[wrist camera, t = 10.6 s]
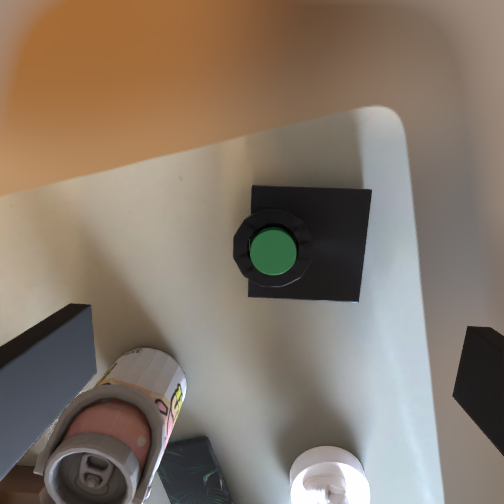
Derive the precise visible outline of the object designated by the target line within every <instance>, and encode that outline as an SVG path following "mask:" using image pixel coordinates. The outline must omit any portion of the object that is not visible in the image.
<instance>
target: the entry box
mask: <svg viewBox="0 0 504 504" xmlns="http://www.w3.org/2000/svg"><path fill="white" fill-rule="evenodd" d="M371 195H372V190H370V189H353V188H324V187H295V186H267V185H252V188H251V214H250V215H248V216H246V217H245V219H244V221H243V222H242V224H241V226H240V227H239V229H238V230H237V232H236V234H235V235H234V239H233V257H234V260H235V262H236V264H237V266H238V267H239V269H240V271H241V273H242V274H243V276H245V277H246V278H248V279H249V281H248V297H254V298H274V299H295V300H315V301H335V302H356V303H358V302H359V295H360V287H361V279H362V270H363V262H364V254H365V245H366V237H367V228H368V220H369V212H370V203H371ZM268 227H278V228H281V229H284V230H285V231H287V232H288V233H289V234H290V235H291V237H292V239H293V241H294V243H295V246H296V251H297V254H296V259H295V262H294V264H293V265H292V267H291V268H290V269H289V270H287V271H286V272H284V273H282V274H279V275H268V274H264V273H262V272H260V271H259V270H258V269H257V268H256V267H255V266H254V265H253V263H252V261H251V257H250V250H249V239H250V248H251V244H252V241H253V238H254V237H255V235H256V234H257V233H258V232H259V231H261V230H262V229H265V228H268Z"/></svg>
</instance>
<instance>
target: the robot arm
mask: <svg viewBox="0 0 504 504" xmlns="http://www.w3.org/2000/svg"><path fill="white" fill-rule="evenodd" d="M96 373H97V369H96V358H95V346H94V334H93V322H92V310H91V305H90V304H72V303H70V304H68V305H67V306H65V307H64V308H62V309H60V310H59V311H57V312H56V313H54V314H52V315H51V316H49V317H47V318H46V319H44V320H43V321H41V322H39V323H38V324H36V325H35V326H33V327H31V328H30V329H28V330H27V331H25V332H23V333H22V334H20V335H19V336H17V337H15V338H14V339H12V340H11V341H9V342H7V343H6V344H4V345H3V346H1V347H0V481H1V480H2V479H3V478H4V477H5V476H6V475H7V473H8V472H9V471H10V470H11V469H12V468H13V467H14V466H15V464H16V463H17V462H18V461H19V460H20V459H21V458H22V457H23V455H24V454H25V453H26V452H27V451H28V450H29V449H30V448H31V446H32V445H33V444H34V443H35V442H36V441H37V440H38V439H39V437H40V436H41V435H42V434H43V433H44V432H45V431H46V429H47V428H48V427H49V426H50V425H51V424H52V423H53V422H54V420H55V419H56V418H57V417H58V416H59V415H60V414H61V413H62V411H63V410H64V409H65V408H66V407H67V406H68V405H69V404H70V402H71V401H72V400H73V399H74V398H75V397H76V396H77V395H78V393H79V392H80V391H81V390H82V389H83V388H84V387H85V386H86V384H87V383H88V382H89V381H90V380H91V379H92V378H93V376H94V375H95V374H96ZM453 397H454V399H455V400H456V401H457V402H458V403H459V404H460V406H461V407H462V408H463V409H464V410H465V412H466V413H467V414H468V415H469V416H470V417H471V418H472V420H473V421H474V422H475V423H476V424H477V426H478V427H479V428H480V429H481V430H482V431H483V433H484V434H485V435H486V436H487V437H488V438H489V439H490V441H491V442H492V443H493V444H494V445H495V447H496V448H497V449H498V450H499V451H500V452H501V454H502V455H503V456H504V336H503V335H501V334H500V333H498V332H497V331H495V330H494V329H492V328H490V327H475V326H467V331H466V336H465V340H464V345H463V349H462V354H461V359H460V363H459V368H458V373H457V377H456V382H455V387H454V392H453Z"/></svg>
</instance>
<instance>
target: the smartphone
mask: <svg viewBox="0 0 504 504" xmlns="http://www.w3.org/2000/svg"><path fill="white" fill-rule="evenodd" d="M157 471H158V474H159V476H160V479H161V481H162V483H163V486H164V488H165V491H166V493H167V495H168V498H169V500H170V502H171V504H232V502H231V500H230V497H229V494H228V491H227V487H226V485H225V482H224V479H223V477H222V474H221V471H220V468H219V466H218V463H217V461H216V458H215V455H214V452H213V449H212V447H211V444H210V441H209V439H208V437H201V438H195V439H190V440H185V441H179V442H174V443H169V444H167V445H166V448H165V450H164V453H163V456H162V458H161V461H160V464H159V466H158V469H157Z"/></svg>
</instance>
